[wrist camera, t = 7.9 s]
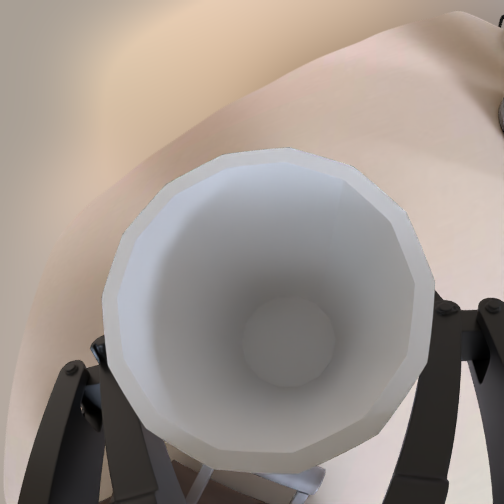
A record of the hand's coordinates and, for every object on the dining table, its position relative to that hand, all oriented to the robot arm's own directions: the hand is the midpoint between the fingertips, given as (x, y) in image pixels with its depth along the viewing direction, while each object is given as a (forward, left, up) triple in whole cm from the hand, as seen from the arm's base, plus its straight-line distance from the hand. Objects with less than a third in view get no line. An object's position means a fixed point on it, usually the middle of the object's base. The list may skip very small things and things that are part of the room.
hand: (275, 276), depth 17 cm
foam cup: (+3, +2, -5) cm, 6 cm away
